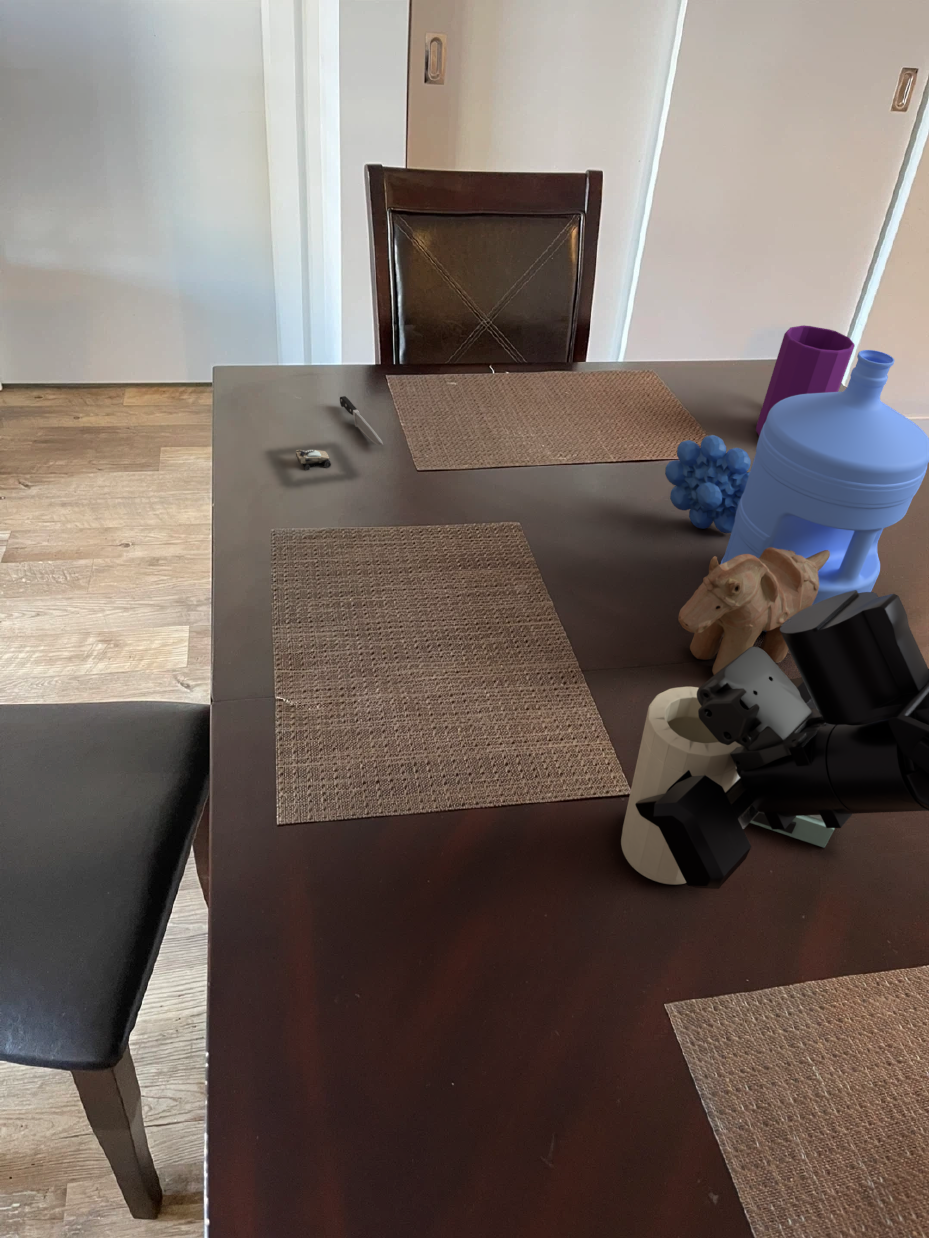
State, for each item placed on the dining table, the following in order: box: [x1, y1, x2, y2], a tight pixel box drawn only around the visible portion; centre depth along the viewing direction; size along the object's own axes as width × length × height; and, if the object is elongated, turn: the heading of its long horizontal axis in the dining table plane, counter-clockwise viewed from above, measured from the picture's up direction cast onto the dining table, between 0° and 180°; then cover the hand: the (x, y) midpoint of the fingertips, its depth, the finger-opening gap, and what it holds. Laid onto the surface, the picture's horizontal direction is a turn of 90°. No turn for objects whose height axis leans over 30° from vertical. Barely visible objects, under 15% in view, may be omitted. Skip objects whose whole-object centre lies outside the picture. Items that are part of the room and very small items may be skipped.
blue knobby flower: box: [664, 434, 752, 534], centre depth 106 cm, size 12×7×12 cm, turn 67°
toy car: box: [295, 449, 332, 471], centre depth 114 cm, size 3×4×2 cm, turn 112°
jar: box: [620, 685, 742, 885], centre depth 68 cm, size 7×7×14 cm
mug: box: [755, 324, 856, 437], centre depth 129 cm, size 9×16×15 cm, turn 165°
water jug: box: [719, 349, 929, 633], centre depth 91 cm, size 16×16×28 cm
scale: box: [735, 775, 835, 849], centre depth 77 cm, size 10×10×3 cm
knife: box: [339, 395, 384, 447], centre depth 122 cm, size 15×1×2 cm, turn 27°
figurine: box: [678, 547, 830, 676], centre depth 86 cm, size 7×18×15 cm, turn 122°
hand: (667, 782), depth 69 cm, fingers closed on jar, 7 cm apart
